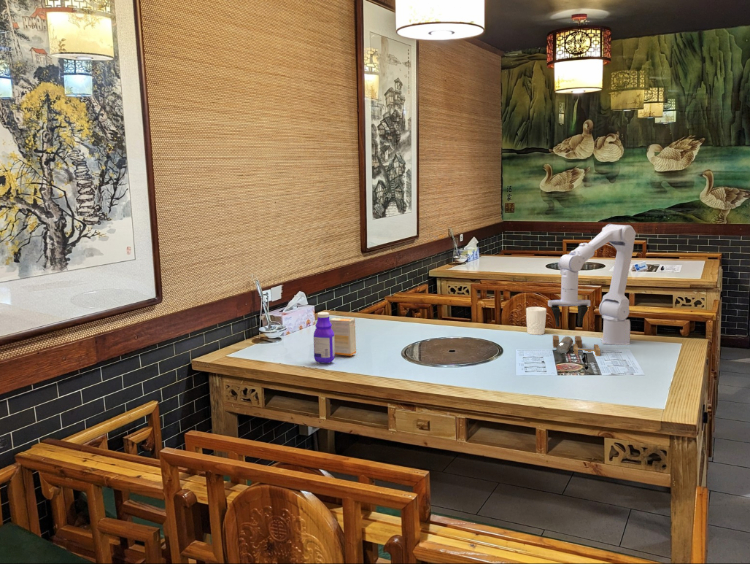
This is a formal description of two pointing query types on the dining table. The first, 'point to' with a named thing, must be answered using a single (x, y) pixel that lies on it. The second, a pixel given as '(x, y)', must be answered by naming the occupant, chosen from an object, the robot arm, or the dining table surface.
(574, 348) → the oak cradle
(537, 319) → the white cup
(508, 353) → the dining table surface
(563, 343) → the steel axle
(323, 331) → the bottle
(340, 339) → the supplement box
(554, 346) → the bearing block
